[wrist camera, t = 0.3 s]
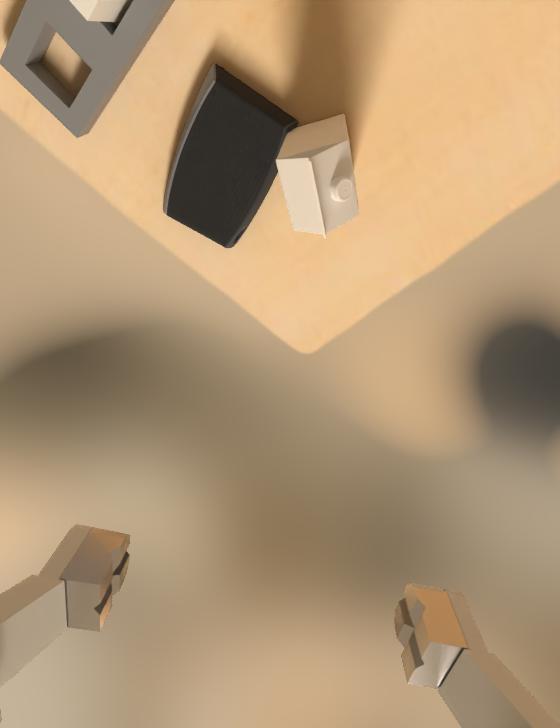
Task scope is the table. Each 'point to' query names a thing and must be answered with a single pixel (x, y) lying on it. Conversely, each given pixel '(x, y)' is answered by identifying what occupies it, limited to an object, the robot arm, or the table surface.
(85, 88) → the socket panel
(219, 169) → the external hard drive
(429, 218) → the table surface
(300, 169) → the milk carton
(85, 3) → the plug
